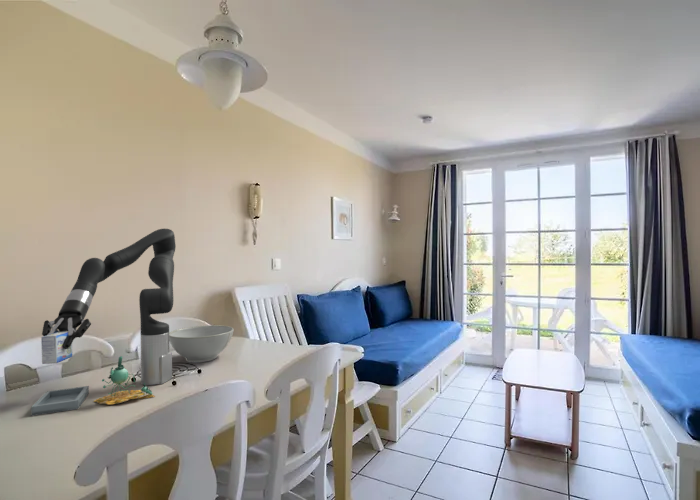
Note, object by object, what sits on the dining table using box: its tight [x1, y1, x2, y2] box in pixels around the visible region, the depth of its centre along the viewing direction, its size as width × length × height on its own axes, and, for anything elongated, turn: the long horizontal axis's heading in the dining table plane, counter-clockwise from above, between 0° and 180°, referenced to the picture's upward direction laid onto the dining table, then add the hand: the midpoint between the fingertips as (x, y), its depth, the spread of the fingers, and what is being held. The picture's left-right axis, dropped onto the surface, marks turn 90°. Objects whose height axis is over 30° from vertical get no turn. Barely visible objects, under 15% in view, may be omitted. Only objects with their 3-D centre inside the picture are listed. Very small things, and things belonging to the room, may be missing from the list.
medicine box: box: [40, 331, 73, 365], centre depth 122 cm, size 8×4×9 cm, turn 5°
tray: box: [31, 385, 90, 417], centre depth 116 cm, size 11×14×2 cm
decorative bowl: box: [169, 324, 234, 363], centre depth 166 cm, size 27×27×12 cm
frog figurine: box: [93, 355, 156, 406], centre depth 118 cm, size 10×18×15 cm, turn 91°
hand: (55, 348), depth 121 cm, fingers closed on medicine box, 4 cm apart
